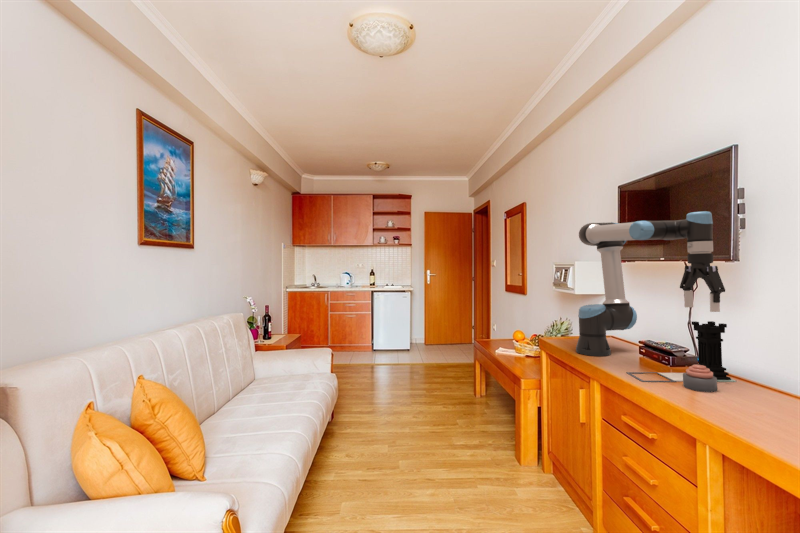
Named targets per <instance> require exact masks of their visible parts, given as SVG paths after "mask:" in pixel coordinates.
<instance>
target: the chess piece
mask: <svg viewBox="0 0 800 533" xmlns="http://www.w3.org/2000/svg"><path fill="white" fill-rule="evenodd" d="M691 325H692V326H693V331H697V332H696V333H697V336H695V339H697V353H698V354H697V355H698V363H694V365H703V366H706V368H709V369H710V371H711V372H713V376H714V377H716V378H717V380H731V379H732V378H731V376H729V374H730V373H729V372H726V371H727V368H726V367H724V366H723V356H722V355H723V354H722V353H723V352H722V342H724V339H723V338H722V334H725V333H726V329H725V328H728V326H727V323H718V325H717V324H716V321H709V320H708V321H707V323H701V324H700V322H699V321H691Z"/></svg>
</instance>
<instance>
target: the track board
mask: <svg viewBox="0 0 800 533" xmlns="http://www.w3.org/2000/svg"><path fill="white" fill-rule="evenodd" d="M625 373H626V374H627V375H629V376H630V377H633V378H635V379H636V380H637V381H640V382H641V383H677V382H678V383H679V382H680V383H681V382H682V383H683V373H684V372H651V371H649V372H648V371H646V372H645V371H644V372H641V371H639V372H638V371H637V372H634V371H627V372H625ZM643 373H657V375H658V374H659V375H658V376H660V375H661V376H660V377H662V376H663V377H662V378H664V377H665V379H666V380H643V379H641V378H639V377H638V376H636V375H637V374H640V375H642V374H643ZM634 374H635V375H634ZM717 383H737V380H735V379H733V378H731V380H717Z"/></svg>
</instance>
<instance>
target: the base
mask: <svg viewBox="0 0 800 533" xmlns="http://www.w3.org/2000/svg"><path fill="white" fill-rule="evenodd" d="M682 373H683V382H682V386H683V388H686V389H688V390H690V391H695V392H696V391H697V392H700V393H701V392H702V393H716V392H717V391H718V382H717V378H716V377H714V376H713V378H697V377H692V376H689V375H687V374H686V372H682Z"/></svg>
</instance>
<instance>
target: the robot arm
mask: <svg viewBox="0 0 800 533" xmlns="http://www.w3.org/2000/svg"><path fill="white" fill-rule="evenodd" d="M713 225H714V221H713V214H712V211H706V210H704V211H693V212H688V213H687V214H686V218H685V219H678V220H637V221H631V222H621V223H619V222H612V221H611V222H589V223H586V224H583V225H582V226H581V228H579V232H578V238H579V241H581V242H580V243H583V244H584V245H586V246H590V247H591V246H592V247H595V246H596V250H597V252H599V253H600V258H601V269H602V277H603V287H604V289H603V290H604V296H605V297H604V298H605V300H604V301H603V302H602V304H599V303H595V304H586V305H582V306H580V307H579V309H578V329H579V330H578V332H579V333H578V334H579V337H578V339H577V342H576V345H575V353H577V354H579V353H580V355H583V354H584V356H591V357H607V356H610V355H612V353H611V351H612V349H611V347H610V344H609V342H608V339H607V332H608V331H609V332H610V331H624V330H631V329H632V328H633V327H634V326H635V325H636V323H637V320H638V314H637V311H636V310H635V308H634V307H633V306H631V304H630V301H628V300H627V299H626V293H625V283H624V277H623V276H624V274H623V264H622V257H621V251H622V250H623V248H624V245H625V244H626V243H627V241H649V240H651V241H654V240H657V241H659V240H664V241H674V240H682V239H684V240H685V239H686V241H687V245H686V246H687V247H686V248H687V253H688V254H687V264H690V265H685V266H684V272H683V275H682V278H681V281H680V285H679V289H681V290H682V291H683V297H684V308H694V291H693V290H694V289H693V288H694V286H695V284H696V282H697V280H698V279H702V280H704V281H703V282H704V283H705V284H706V286H707V287H708V289H709V291H710V292H709V312H710V313H712V312H713V313H718V312H719V313H720V312H721V308H720V307H721V306H720V303H721V294H722V293H725V292H726V287H725V286H724V283H723V280H722V278H721V276H720V274H719V267H718V265H711V264H713V263H714V254H713V253H712V252H714V238H713V236H714V235H713V230H714V228H713Z"/></svg>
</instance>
